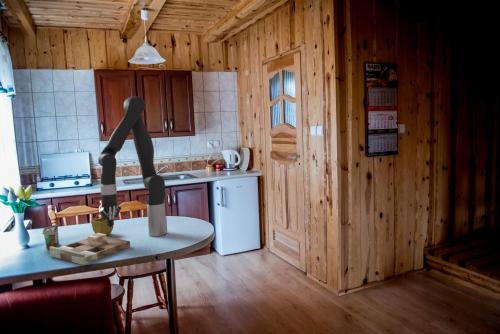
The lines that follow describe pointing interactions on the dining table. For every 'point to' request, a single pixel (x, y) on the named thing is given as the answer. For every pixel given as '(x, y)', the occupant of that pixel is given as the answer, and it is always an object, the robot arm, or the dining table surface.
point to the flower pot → (101, 226)
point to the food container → (51, 236)
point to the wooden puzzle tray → (88, 250)
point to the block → (97, 239)
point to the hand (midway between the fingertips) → (110, 226)
